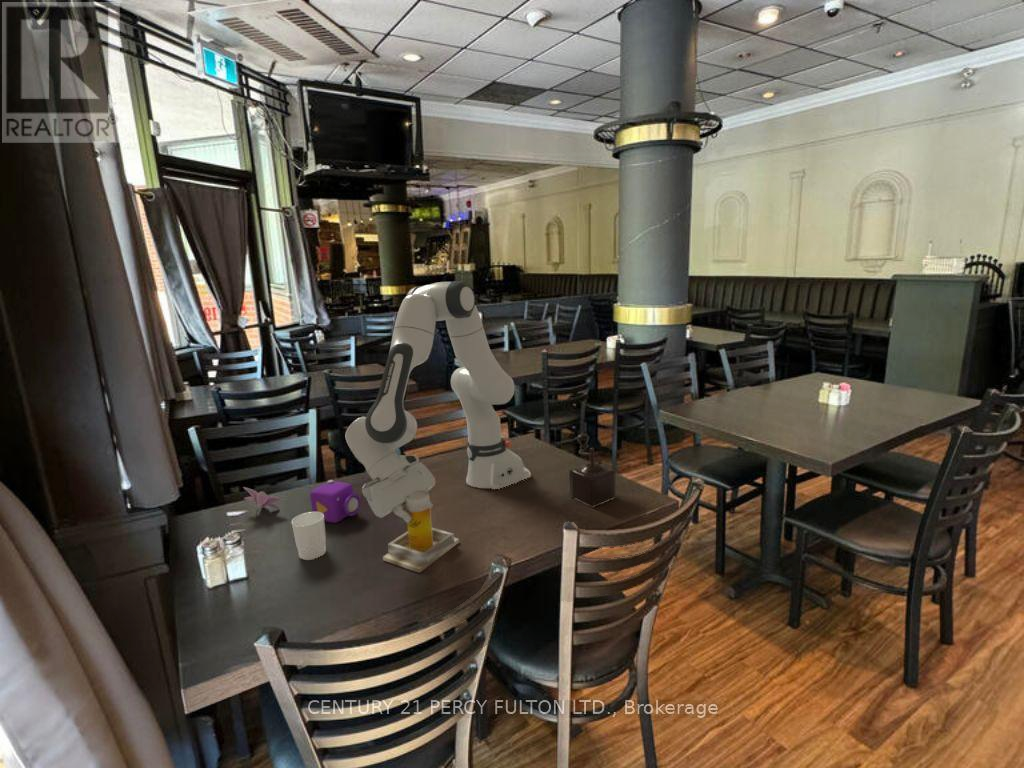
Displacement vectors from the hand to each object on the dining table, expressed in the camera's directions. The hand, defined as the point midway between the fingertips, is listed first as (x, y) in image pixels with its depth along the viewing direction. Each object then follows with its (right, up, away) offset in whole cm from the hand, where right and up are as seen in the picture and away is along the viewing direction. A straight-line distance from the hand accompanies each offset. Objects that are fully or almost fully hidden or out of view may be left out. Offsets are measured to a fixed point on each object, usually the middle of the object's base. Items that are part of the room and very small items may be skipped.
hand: (420, 514), depth 133 cm
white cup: (-29, -11, +4) cm, 31 cm away
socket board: (0, -10, +3) cm, 11 cm away
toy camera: (-29, -7, +24) cm, 38 cm away
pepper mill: (+47, -2, +32) cm, 57 cm away
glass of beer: (0, -10, +2) cm, 10 cm away
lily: (-53, -7, +28) cm, 60 cm away
